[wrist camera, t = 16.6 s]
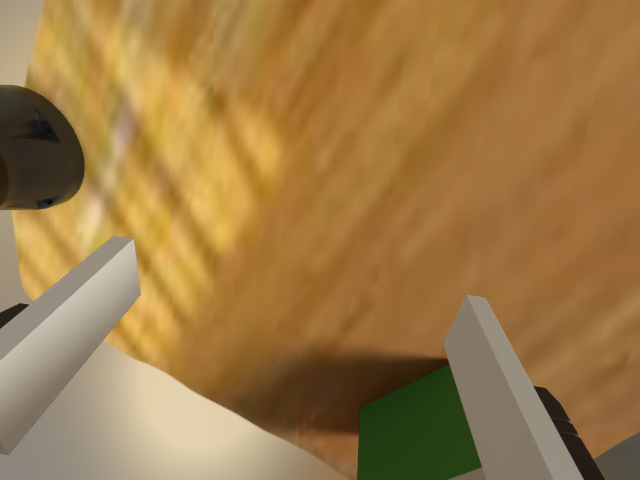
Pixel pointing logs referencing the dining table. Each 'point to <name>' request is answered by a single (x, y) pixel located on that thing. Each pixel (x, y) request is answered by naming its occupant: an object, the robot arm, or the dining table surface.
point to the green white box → (418, 434)
